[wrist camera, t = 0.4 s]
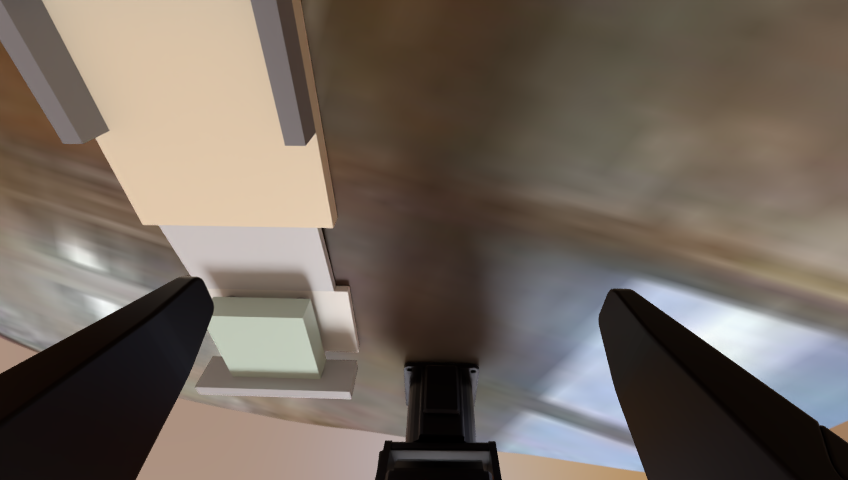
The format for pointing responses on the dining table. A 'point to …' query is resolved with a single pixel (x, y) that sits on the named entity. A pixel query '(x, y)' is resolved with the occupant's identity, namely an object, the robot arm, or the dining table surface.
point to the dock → (199, 133)
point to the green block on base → (272, 352)
